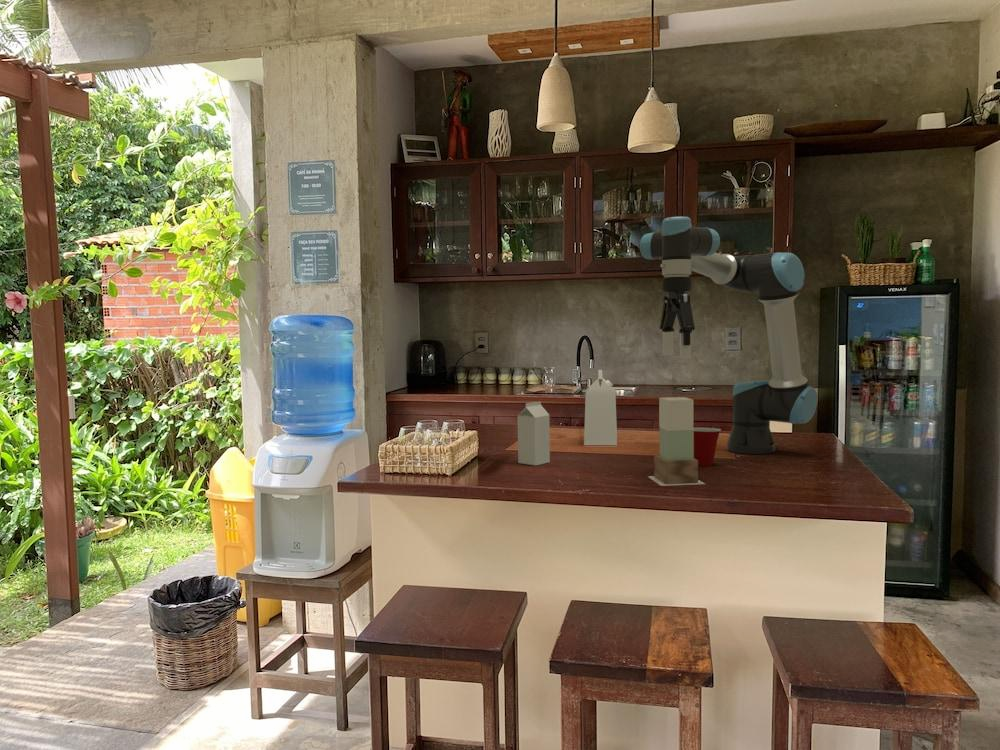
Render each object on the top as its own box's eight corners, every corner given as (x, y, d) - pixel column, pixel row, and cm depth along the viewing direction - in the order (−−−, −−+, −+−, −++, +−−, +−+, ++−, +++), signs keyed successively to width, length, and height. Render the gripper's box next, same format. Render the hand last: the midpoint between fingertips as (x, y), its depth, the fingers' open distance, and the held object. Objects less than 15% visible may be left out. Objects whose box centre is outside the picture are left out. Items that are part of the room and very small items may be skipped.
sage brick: (684, 455, 210) (684, 426, 209) (693, 459, 203) (693, 429, 202) (659, 456, 209) (659, 426, 208) (667, 460, 202) (667, 430, 201)
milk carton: (550, 462, 239) (549, 402, 237) (535, 466, 234) (534, 404, 232) (532, 460, 244) (532, 400, 242) (517, 463, 238) (517, 402, 237)
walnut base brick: (686, 475, 211) (686, 454, 211) (698, 482, 202) (698, 460, 202) (654, 477, 210) (654, 455, 210) (664, 484, 201) (664, 461, 201)
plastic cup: (722, 464, 231) (722, 425, 230) (719, 471, 221) (720, 430, 220) (685, 463, 235) (685, 424, 234) (681, 469, 225) (681, 429, 224)
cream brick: (684, 426, 209) (684, 397, 209) (693, 429, 202) (693, 399, 202) (659, 426, 208) (659, 397, 208) (667, 430, 201) (667, 400, 201)
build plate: (689, 478, 213) (689, 474, 213) (705, 487, 201) (705, 483, 201) (647, 479, 212) (647, 476, 212) (661, 489, 200) (661, 485, 200)
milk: (584, 440, 280) (584, 369, 278) (616, 440, 279) (616, 369, 277) (584, 446, 268) (583, 372, 266) (617, 446, 267) (616, 371, 265)
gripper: (648, 279, 214) (648, 354, 216) (678, 274, 190) (678, 359, 191) (674, 278, 215) (674, 354, 217) (708, 273, 190) (707, 359, 192)
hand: (676, 357), depth 204 cm, fingers open, 13 cm apart
